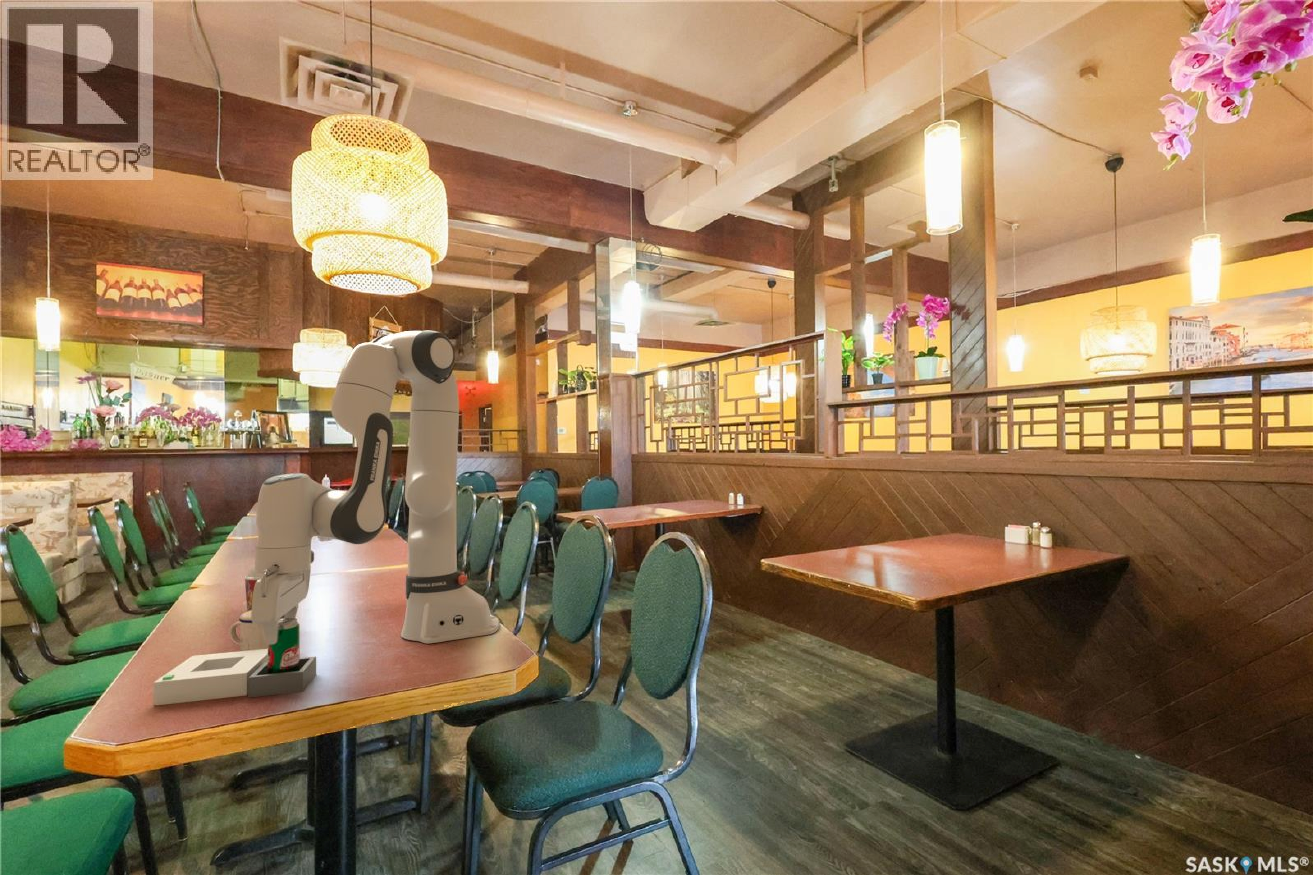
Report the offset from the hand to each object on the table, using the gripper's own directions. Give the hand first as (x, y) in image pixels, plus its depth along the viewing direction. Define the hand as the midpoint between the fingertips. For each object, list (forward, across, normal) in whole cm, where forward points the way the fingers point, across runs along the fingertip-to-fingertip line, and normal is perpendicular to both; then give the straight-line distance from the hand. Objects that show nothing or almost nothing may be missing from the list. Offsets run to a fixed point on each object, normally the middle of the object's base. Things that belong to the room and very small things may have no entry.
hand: (280, 635), depth 110 cm
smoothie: (+10, +42, +15) cm, 45 cm away
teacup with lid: (+10, +22, +10) cm, 26 cm away
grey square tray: (+9, 0, -1) cm, 9 cm away
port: (+10, +4, +11) cm, 16 cm away
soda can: (+10, 0, -1) cm, 10 cm away
